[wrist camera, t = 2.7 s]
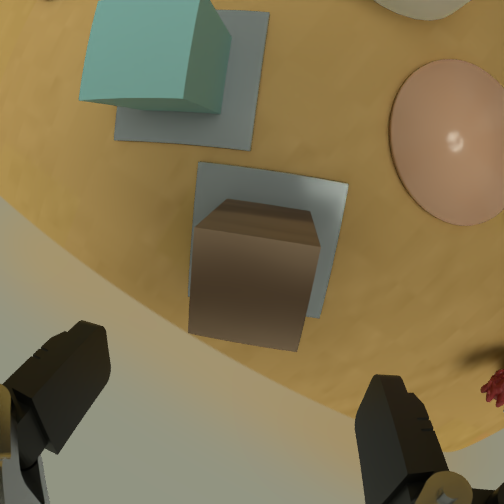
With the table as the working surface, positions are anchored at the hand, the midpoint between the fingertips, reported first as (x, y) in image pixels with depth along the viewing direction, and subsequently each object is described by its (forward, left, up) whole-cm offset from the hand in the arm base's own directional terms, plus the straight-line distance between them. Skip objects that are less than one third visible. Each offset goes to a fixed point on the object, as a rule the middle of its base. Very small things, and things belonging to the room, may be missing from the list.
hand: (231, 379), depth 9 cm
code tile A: (0, 0, -12) cm, 12 cm away
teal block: (-10, -6, -12) cm, 17 cm away
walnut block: (0, 0, -12) cm, 12 cm away
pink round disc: (-9, +12, -12) cm, 19 cm away
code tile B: (-10, -6, -13) cm, 17 cm away
